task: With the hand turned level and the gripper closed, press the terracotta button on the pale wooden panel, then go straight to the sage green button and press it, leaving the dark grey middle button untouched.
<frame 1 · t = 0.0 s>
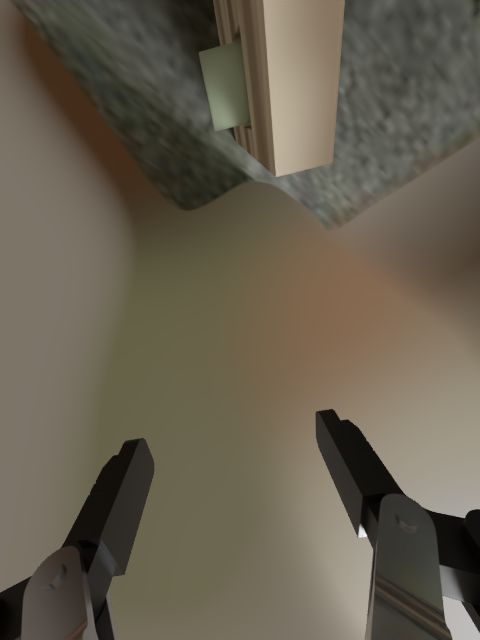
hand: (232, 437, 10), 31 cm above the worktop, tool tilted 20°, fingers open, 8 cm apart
sage button: (235, 87, 16), point 13 cm above the worktop, slide at 0.0 cm
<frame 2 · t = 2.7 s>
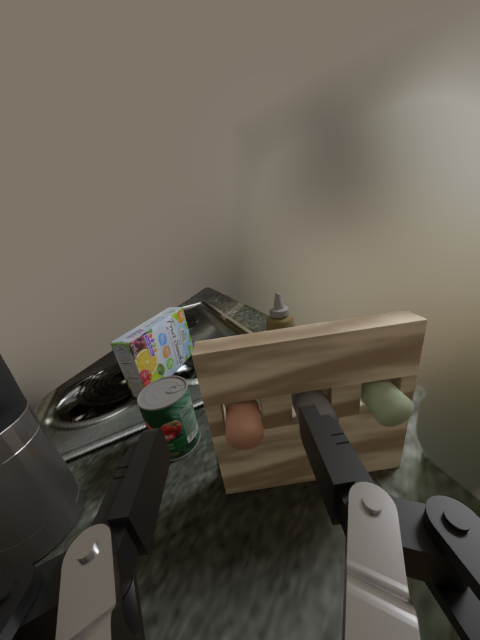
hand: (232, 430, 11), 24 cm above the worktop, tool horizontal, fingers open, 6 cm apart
squeeze bottle: (282, 360, 59), on the worktop
terracotta button: (243, 420, 25), point 13 cm above the worktop, slide at 0.0 cm
canned tomato: (179, 441, 40), on the worktop
snack box: (167, 372, 61), on the worktop
sage button: (382, 399, 25), point 13 cm above the worktop, slide at 0.0 cm
button panel: (313, 480, 31), on the worktop
grey button: (313, 410, 25), point 13 cm above the worktop, slide at 0.0 cm
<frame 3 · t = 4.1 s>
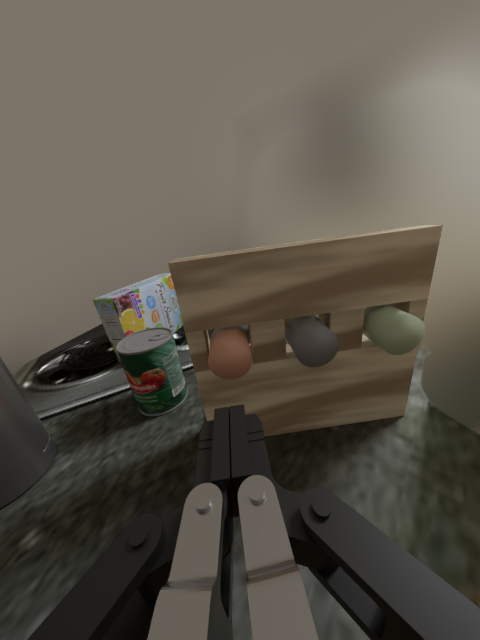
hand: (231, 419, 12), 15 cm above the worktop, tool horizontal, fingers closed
terracotta button: (229, 350, 22), point 13 cm above the worktop, slide at 0.0 cm
canned tomato: (164, 398, 37), on the worktop
snack box: (157, 341, 58), on the worktop
sage button: (388, 327, 22), point 13 cm above the worktop, slide at 0.0 cm
button panel: (308, 429, 28), on the worktop
grey button: (309, 338, 22), point 13 cm above the worktop, slide at 0.0 cm
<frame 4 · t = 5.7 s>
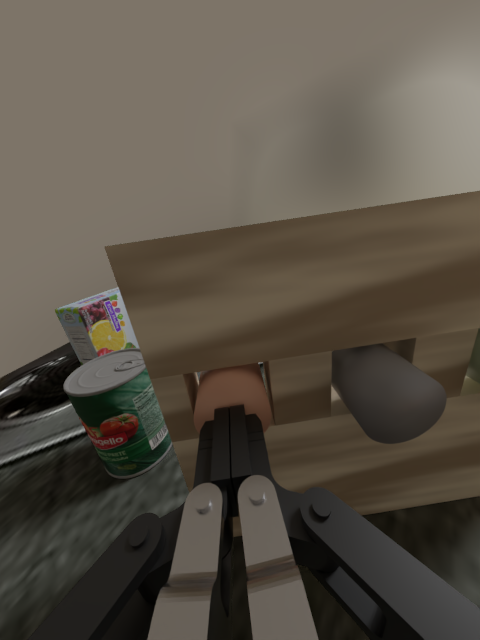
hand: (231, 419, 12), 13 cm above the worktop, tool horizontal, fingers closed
terracotta button: (231, 392, 13), point 13 cm above the worktop, slide at 1.3 cm, touching gripper
canned tomato: (142, 446, 27), on the worktop
snack box: (143, 357, 48), on the worktop
button panel: (358, 516, 18), on the worktop
grey button: (376, 385, 12), point 13 cm above the worktop, slide at 0.0 cm
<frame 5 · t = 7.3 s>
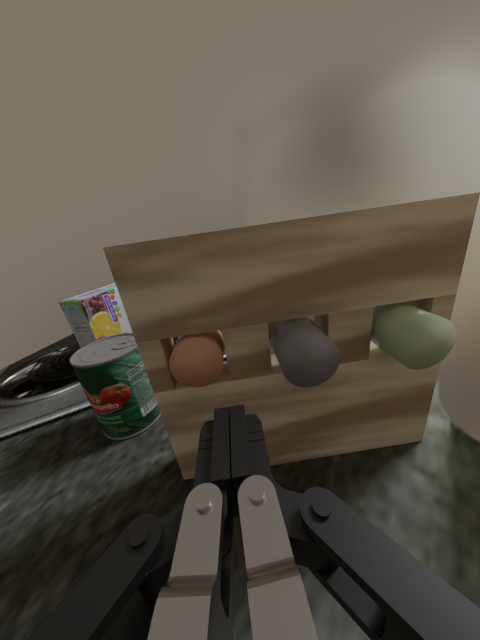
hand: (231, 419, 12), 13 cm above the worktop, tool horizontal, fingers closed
terracotta button: (198, 352, 19), point 13 cm above the worktop, slide at 1.9 cm
canned tomato: (135, 416, 31), on the worktop
snack box: (139, 347, 52), on the worktop
sage button: (404, 332, 17), point 13 cm above the worktop, slide at 0.0 cm
button panel: (304, 460, 22), on the worktop
grey button: (301, 348, 17), point 13 cm above the worktop, slide at 0.0 cm
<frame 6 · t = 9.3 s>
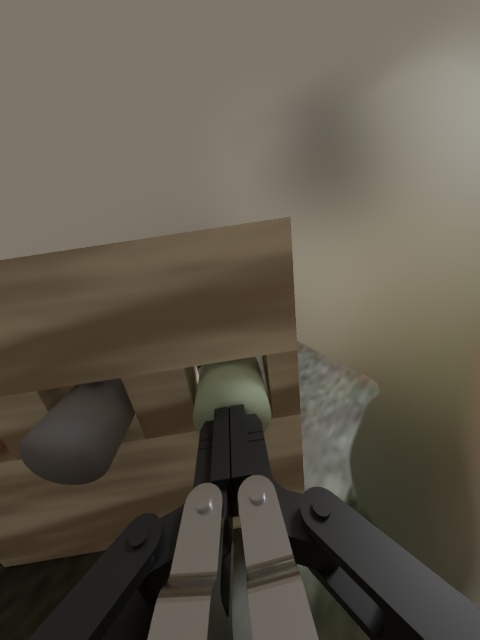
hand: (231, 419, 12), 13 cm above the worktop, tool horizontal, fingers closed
sage button: (231, 391, 13), point 13 cm above the worktop, slide at 0.8 cm, touching gripper
button panel: (156, 541, 18), on the worktop
grey button: (89, 423, 13), point 13 cm above the worktop, slide at 0.0 cm
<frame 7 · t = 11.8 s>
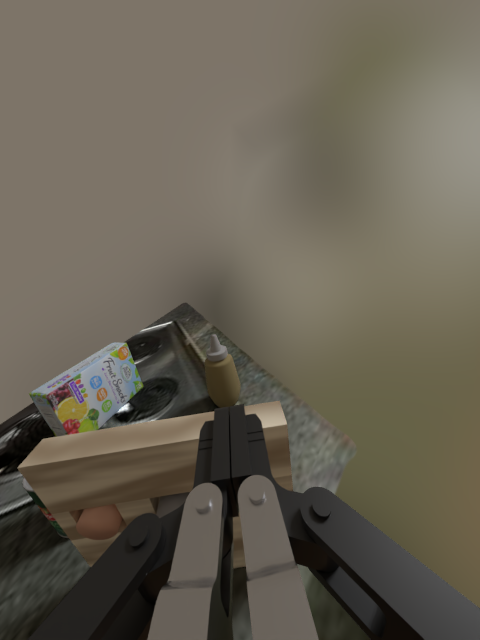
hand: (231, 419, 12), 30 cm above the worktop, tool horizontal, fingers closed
squeeze bottle: (226, 400, 56), on the worktop
terracotta button: (107, 505, 24), point 13 cm above the worktop, slide at 1.9 cm
canned tomato: (86, 508, 37), on the worktop
snack box: (108, 413, 58), on the worktop
button panel: (203, 573, 28), on the worktop
grey button: (176, 514, 23), point 13 cm above the worktop, slide at 0.0 cm
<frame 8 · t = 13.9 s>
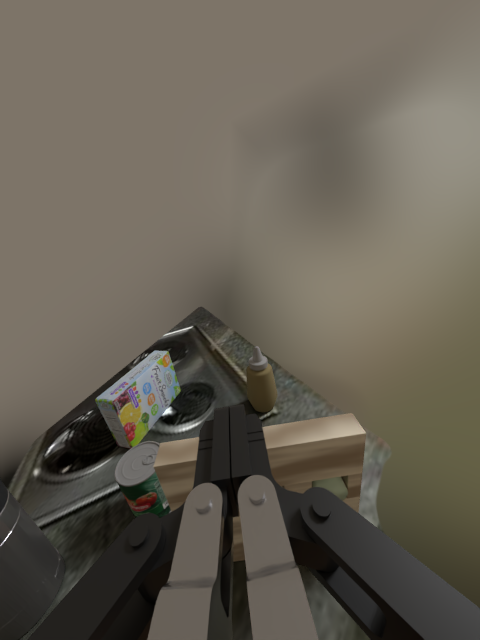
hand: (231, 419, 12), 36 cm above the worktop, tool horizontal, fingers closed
squeeze bottle: (263, 405, 61), on the worktop
canned tomato: (157, 501, 42), on the worktop
snack box: (153, 416, 64), on the worktop
sage button: (325, 478, 30), point 13 cm above the worktop, slide at 1.9 cm
button panel: (275, 555, 33), on the worktop
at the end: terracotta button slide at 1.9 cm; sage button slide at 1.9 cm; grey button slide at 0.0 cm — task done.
